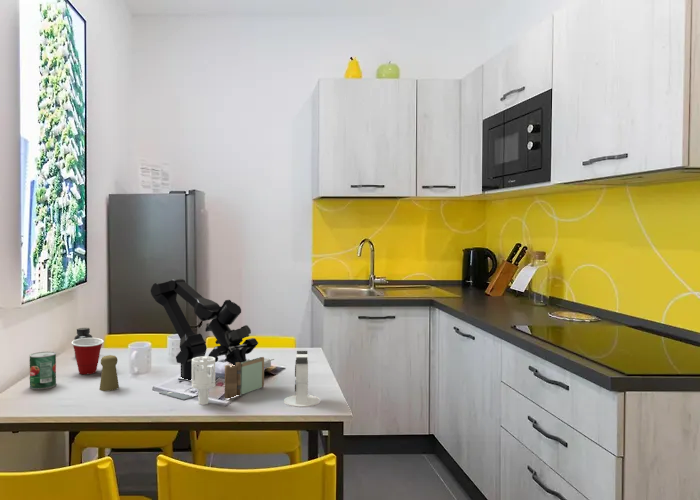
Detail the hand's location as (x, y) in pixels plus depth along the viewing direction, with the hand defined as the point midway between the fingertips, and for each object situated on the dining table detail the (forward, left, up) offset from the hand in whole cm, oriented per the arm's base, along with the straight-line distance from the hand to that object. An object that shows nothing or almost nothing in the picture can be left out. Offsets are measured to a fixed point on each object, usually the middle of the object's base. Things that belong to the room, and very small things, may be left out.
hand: (246, 370), depth 188 cm
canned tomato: (-66, -22, -7) cm, 70 cm away
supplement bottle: (-86, +14, -7) cm, 87 cm away
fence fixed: (-1, -7, -7) cm, 10 cm away
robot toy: (-13, +24, -8) cm, 28 cm away
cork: (-44, -15, -7) cm, 47 cm away
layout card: (-18, -10, -7) cm, 22 cm away
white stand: (+21, -1, -7) cm, 22 cm away
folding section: (+1, +1, -7) cm, 7 cm away
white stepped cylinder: (-6, -16, -7) cm, 18 cm away
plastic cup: (-66, -3, -7) cm, 66 cm away
